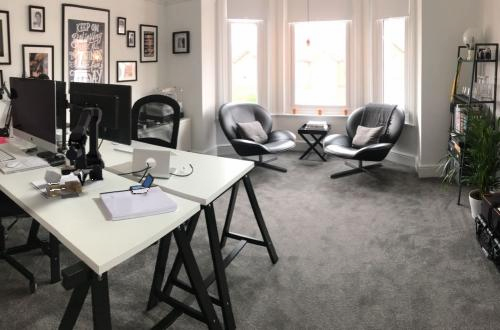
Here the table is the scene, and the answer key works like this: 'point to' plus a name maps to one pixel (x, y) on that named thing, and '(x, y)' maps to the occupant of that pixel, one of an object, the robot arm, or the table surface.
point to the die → (52, 176)
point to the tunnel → (58, 192)
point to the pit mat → (70, 195)
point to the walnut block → (71, 186)
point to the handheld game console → (145, 182)
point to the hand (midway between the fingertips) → (82, 186)
